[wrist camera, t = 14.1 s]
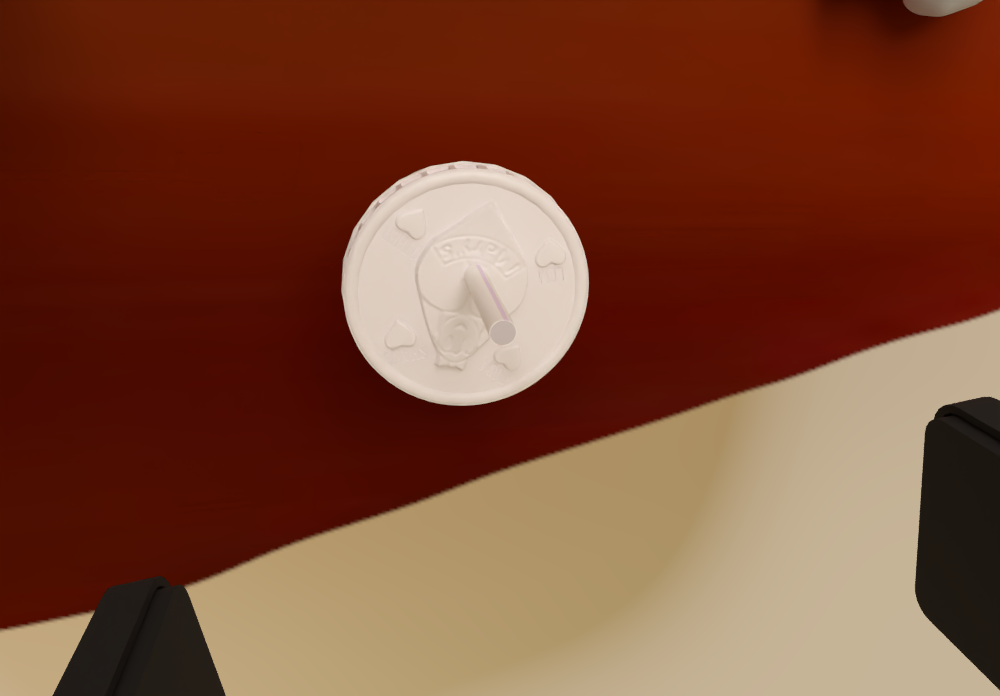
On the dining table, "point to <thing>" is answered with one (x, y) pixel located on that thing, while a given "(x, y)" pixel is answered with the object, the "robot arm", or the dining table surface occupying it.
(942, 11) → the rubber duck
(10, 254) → the dining table surface
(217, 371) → the dining table surface
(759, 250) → the dining table surface
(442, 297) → the smoothie
